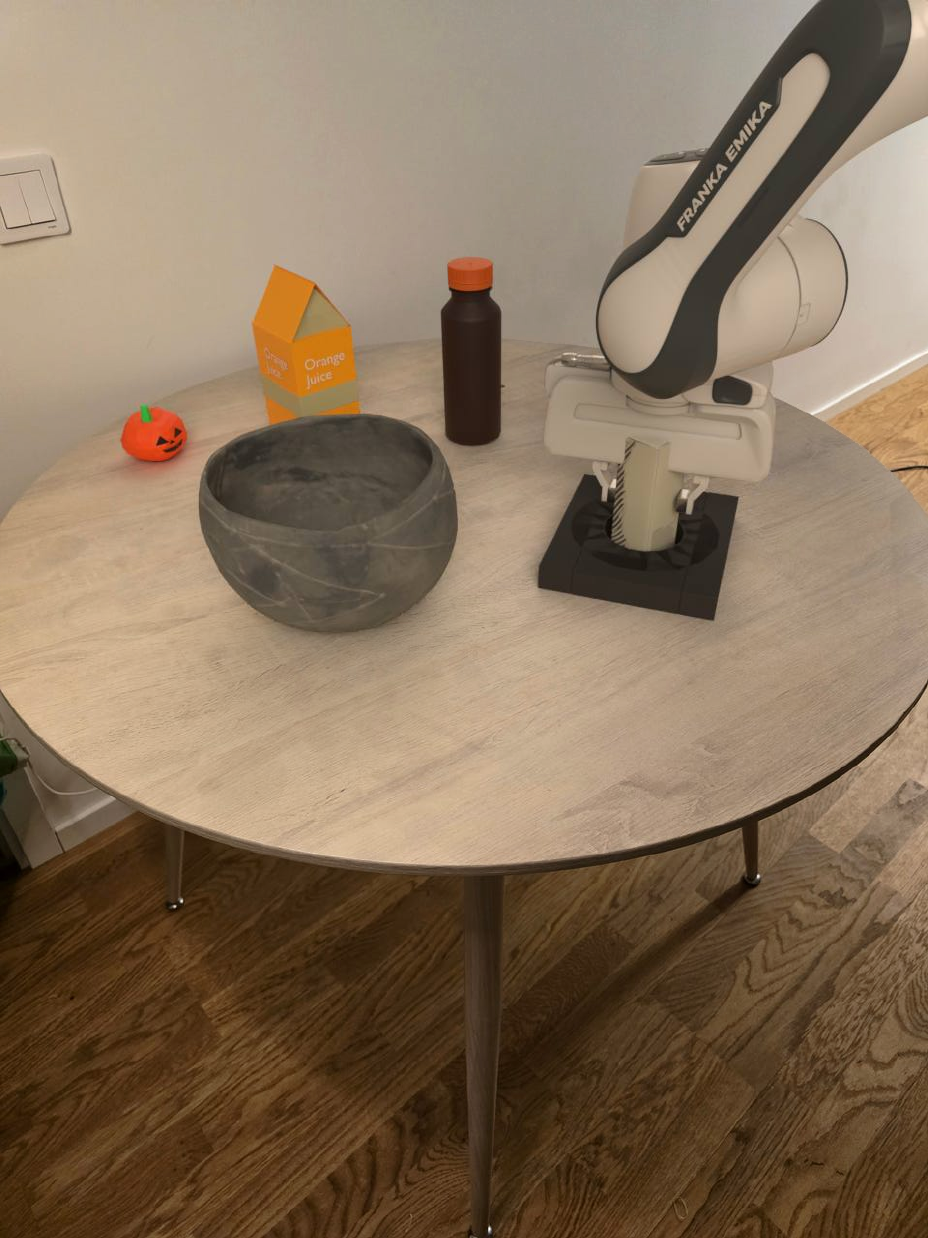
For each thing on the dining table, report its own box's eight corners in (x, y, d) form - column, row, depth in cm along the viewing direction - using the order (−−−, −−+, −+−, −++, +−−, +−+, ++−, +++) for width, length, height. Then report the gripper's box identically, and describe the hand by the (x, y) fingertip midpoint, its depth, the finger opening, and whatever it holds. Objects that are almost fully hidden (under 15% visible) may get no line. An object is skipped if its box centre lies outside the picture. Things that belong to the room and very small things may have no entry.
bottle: (511, 437, 104) (513, 265, 92) (463, 452, 101) (458, 276, 89) (482, 416, 109) (480, 250, 96) (435, 430, 106) (427, 260, 94)
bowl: (188, 596, 80) (148, 450, 71) (379, 519, 90) (365, 382, 81) (297, 722, 67) (265, 563, 58) (507, 615, 77) (508, 465, 68)
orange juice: (308, 467, 99) (281, 290, 87) (271, 441, 105) (240, 271, 92) (365, 447, 103) (347, 274, 91) (326, 422, 108) (304, 256, 96)
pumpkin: (196, 438, 106) (184, 388, 102) (181, 470, 100) (168, 418, 96) (137, 440, 106) (123, 390, 102) (119, 472, 99) (103, 420, 95)
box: (639, 531, 87) (653, 412, 79) (675, 548, 85) (694, 427, 77) (606, 553, 84) (617, 432, 76) (643, 571, 82) (659, 447, 74)
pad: (734, 517, 89) (739, 496, 87) (713, 621, 76) (718, 598, 74) (582, 493, 93) (584, 473, 92) (537, 588, 80) (538, 566, 79)
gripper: (536, 363, 73) (531, 504, 82) (788, 391, 68) (755, 540, 76) (554, 337, 78) (549, 473, 86) (792, 361, 72) (761, 504, 81)
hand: (647, 505), depth 81 cm, fingers closed on box, 5 cm apart
